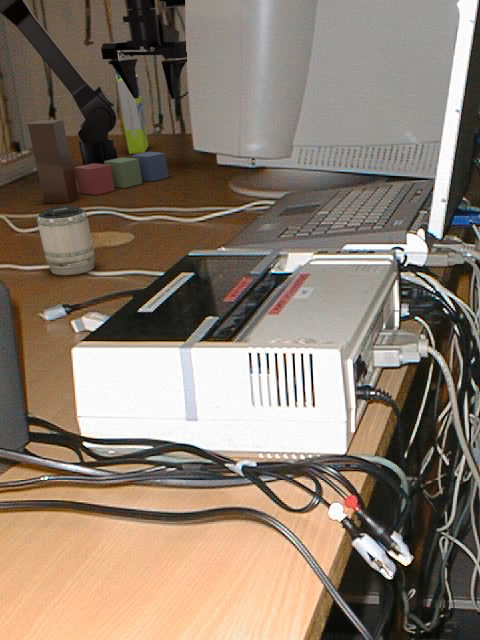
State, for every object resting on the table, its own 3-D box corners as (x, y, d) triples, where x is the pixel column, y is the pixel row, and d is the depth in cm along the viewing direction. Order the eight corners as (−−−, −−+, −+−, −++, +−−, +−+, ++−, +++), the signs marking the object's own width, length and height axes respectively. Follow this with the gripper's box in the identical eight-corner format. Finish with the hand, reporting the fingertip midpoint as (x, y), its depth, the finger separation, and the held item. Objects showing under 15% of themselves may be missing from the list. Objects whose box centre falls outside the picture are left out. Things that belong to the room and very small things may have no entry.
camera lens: (42, 269, 122) (28, 209, 118) (86, 260, 125) (74, 201, 121) (58, 279, 117) (44, 216, 113) (104, 269, 120) (92, 208, 116)
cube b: (126, 181, 174) (122, 157, 172) (142, 183, 172) (138, 158, 170) (108, 186, 171) (103, 161, 169) (124, 188, 169) (120, 162, 167)
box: (145, 153, 203) (131, 68, 194) (127, 154, 203) (112, 69, 194) (149, 146, 212) (136, 64, 203) (131, 147, 212) (118, 65, 203)
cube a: (152, 175, 179) (149, 151, 177) (168, 177, 177) (165, 152, 175) (135, 179, 176) (131, 155, 174) (151, 181, 174) (147, 156, 171)
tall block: (55, 197, 164) (38, 120, 157) (79, 197, 163) (63, 119, 157) (44, 203, 160) (27, 124, 153) (69, 202, 159) (52, 123, 153)
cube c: (98, 188, 170) (94, 163, 167) (114, 190, 167) (110, 164, 165) (79, 193, 166) (74, 167, 164) (95, 195, 164) (90, 169, 162)
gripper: (206, 6, 175) (216, 94, 183) (128, 8, 182) (142, 93, 190) (171, 8, 166) (184, 101, 174) (91, 11, 173) (107, 100, 181)
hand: (154, 98), depth 180 cm, fingers open, 9 cm apart
